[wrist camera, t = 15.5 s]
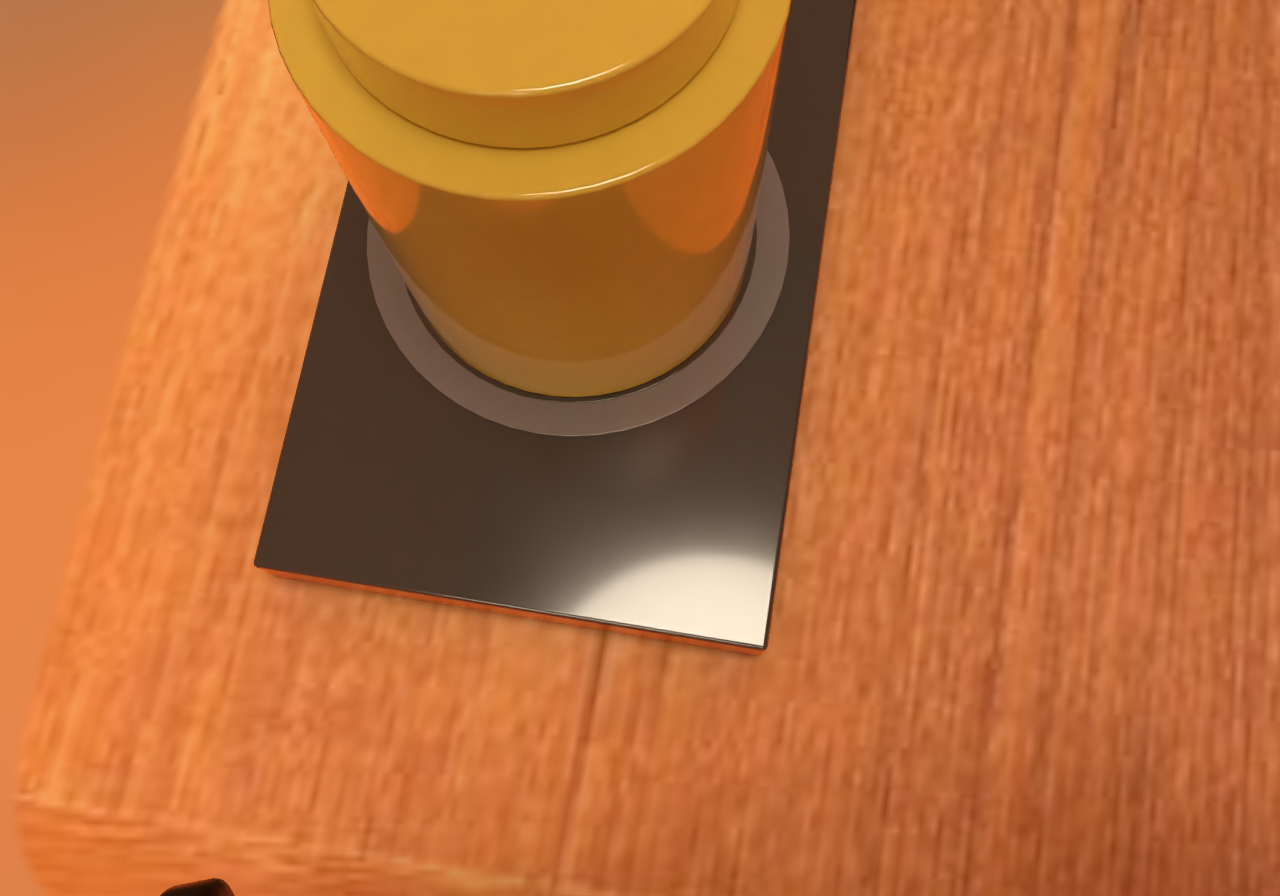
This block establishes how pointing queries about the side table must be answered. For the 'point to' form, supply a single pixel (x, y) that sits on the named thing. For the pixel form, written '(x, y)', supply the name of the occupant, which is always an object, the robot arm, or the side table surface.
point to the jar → (551, 167)
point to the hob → (570, 430)
